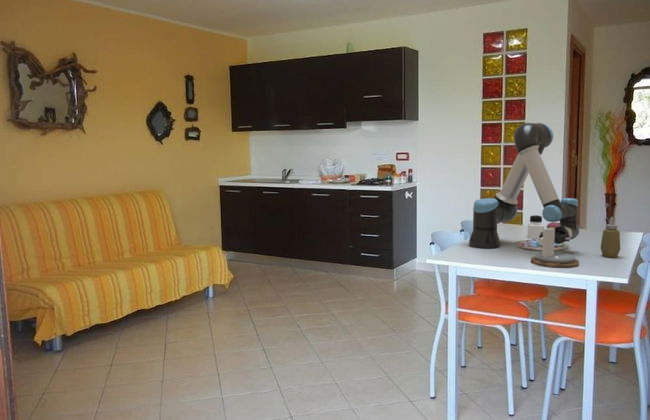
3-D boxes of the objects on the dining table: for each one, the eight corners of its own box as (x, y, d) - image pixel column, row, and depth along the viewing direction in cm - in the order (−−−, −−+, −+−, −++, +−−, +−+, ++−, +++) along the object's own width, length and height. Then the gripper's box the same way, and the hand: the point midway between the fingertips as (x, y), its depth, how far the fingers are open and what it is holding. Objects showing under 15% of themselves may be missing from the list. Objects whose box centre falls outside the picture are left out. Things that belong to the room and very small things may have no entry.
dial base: (523, 263, 238) (523, 259, 238) (540, 256, 252) (540, 252, 252) (569, 270, 226) (569, 265, 226) (584, 262, 240) (585, 258, 240)
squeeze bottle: (597, 256, 252) (599, 217, 250) (603, 253, 258) (605, 215, 255) (616, 259, 246) (618, 218, 244) (622, 256, 252) (624, 217, 250)
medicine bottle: (543, 238, 298) (544, 216, 297) (529, 238, 300) (530, 216, 298) (541, 236, 305) (541, 214, 304) (527, 236, 307) (528, 214, 305)
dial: (559, 264, 228) (560, 232, 226) (526, 257, 241) (527, 227, 240) (582, 260, 236) (584, 228, 235) (550, 253, 250) (551, 224, 248)
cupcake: (547, 235, 307) (548, 214, 306) (545, 233, 315) (546, 212, 314) (564, 236, 305) (565, 214, 304) (561, 233, 313) (562, 212, 312)
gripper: (574, 244, 249) (555, 252, 232) (545, 240, 258) (525, 248, 240) (575, 227, 248) (556, 234, 231) (546, 224, 257) (526, 231, 239)
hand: (540, 241), depth 235 cm, fingers closed
